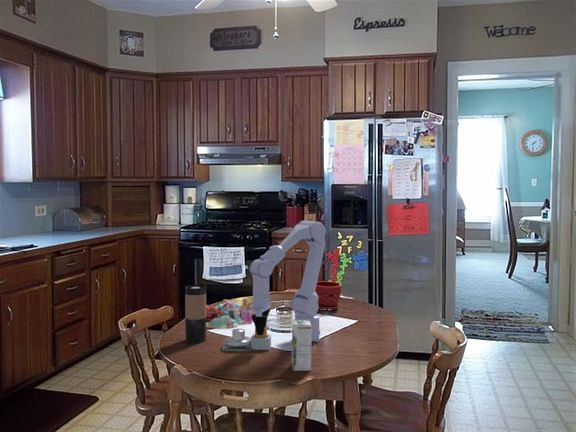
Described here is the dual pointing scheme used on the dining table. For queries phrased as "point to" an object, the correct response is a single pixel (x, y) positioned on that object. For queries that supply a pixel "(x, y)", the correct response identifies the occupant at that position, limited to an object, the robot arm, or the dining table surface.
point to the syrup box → (301, 345)
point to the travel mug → (195, 313)
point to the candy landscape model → (228, 314)
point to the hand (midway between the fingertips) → (261, 331)
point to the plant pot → (328, 294)
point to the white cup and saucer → (237, 342)
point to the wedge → (263, 334)
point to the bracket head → (261, 343)
